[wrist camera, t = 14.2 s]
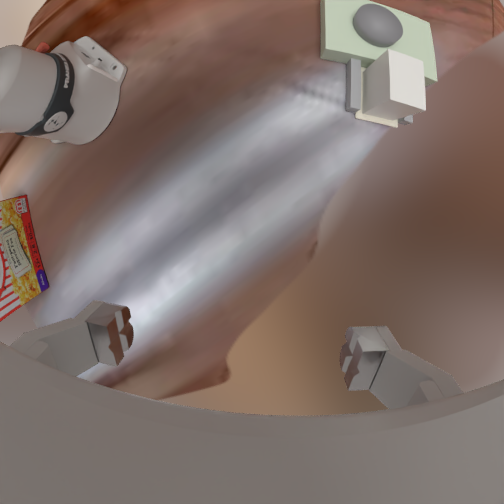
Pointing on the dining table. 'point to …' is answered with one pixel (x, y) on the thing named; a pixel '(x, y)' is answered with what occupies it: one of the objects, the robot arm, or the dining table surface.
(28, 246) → the popcorn box
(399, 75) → the white rectangular block
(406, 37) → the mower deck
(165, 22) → the dining table surface
